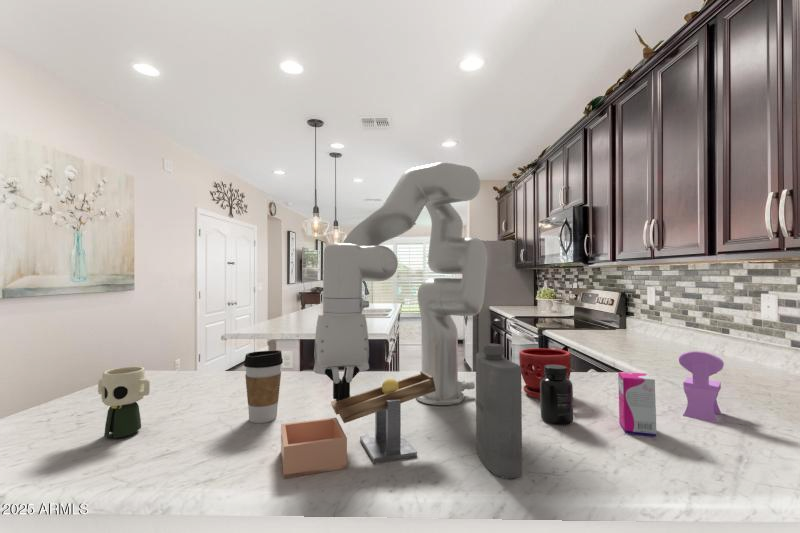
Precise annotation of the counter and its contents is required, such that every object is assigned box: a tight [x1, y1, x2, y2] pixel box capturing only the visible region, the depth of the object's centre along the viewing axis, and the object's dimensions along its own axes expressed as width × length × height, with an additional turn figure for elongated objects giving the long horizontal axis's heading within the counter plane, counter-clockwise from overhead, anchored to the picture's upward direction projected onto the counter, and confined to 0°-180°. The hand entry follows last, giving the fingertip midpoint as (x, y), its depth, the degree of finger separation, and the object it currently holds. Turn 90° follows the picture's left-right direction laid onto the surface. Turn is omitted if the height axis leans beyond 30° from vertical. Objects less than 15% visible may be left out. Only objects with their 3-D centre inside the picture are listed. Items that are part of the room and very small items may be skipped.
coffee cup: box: [243, 349, 284, 424], centre depth 89 cm, size 8×8×15 cm
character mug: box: [97, 365, 151, 438], centre depth 80 cm, size 11×7×13 cm, turn 86°
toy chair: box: [678, 350, 725, 423], centre depth 92 cm, size 8×9×15 cm
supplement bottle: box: [539, 365, 574, 426], centre depth 88 cm, size 7×7×12 cm
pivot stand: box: [359, 399, 418, 464], centre depth 74 cm, size 8×10×10 cm
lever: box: [330, 370, 436, 424], centre depth 76 cm, size 18×10×3 cm, turn 110°
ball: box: [381, 377, 399, 394], centre depth 74 cm, size 3×3×3 cm
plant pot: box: [518, 347, 572, 400], centre depth 106 cm, size 13×13×12 cm
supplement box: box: [617, 371, 657, 438], centre depth 82 cm, size 6×6×12 cm
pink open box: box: [280, 417, 348, 479], centre depth 69 cm, size 10×10×5 cm
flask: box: [475, 343, 523, 480], centre depth 70 cm, size 15×6×20 cm, turn 2°
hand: (341, 402), depth 76 cm, fingers closed
